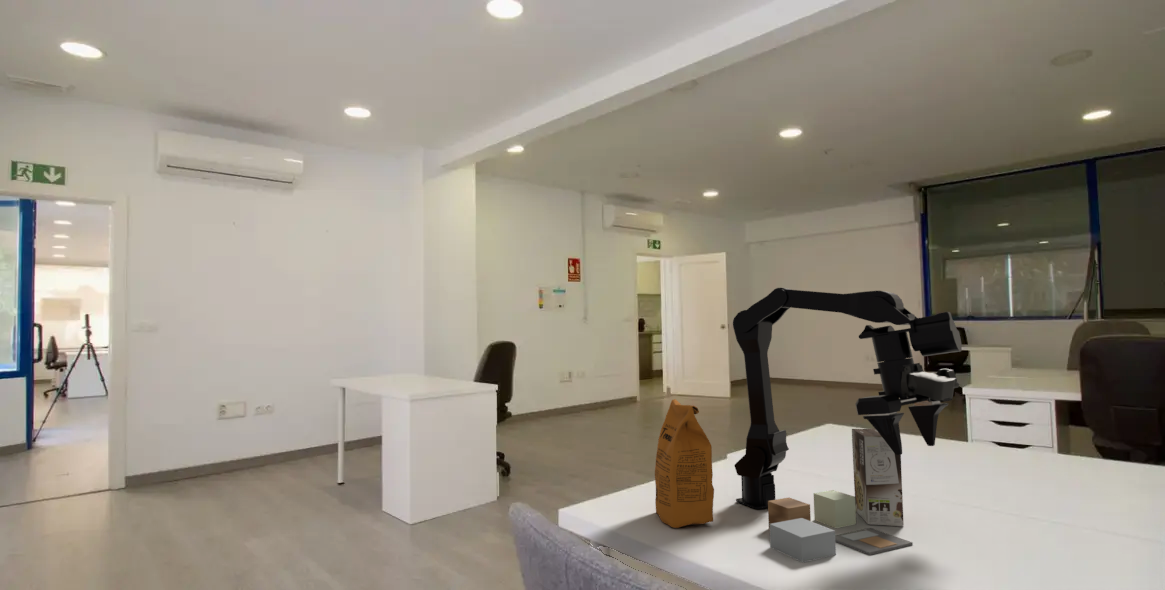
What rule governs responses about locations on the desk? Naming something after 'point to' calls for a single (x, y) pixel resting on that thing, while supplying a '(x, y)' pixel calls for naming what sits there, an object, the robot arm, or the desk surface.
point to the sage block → (834, 508)
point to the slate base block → (802, 539)
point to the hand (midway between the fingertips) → (915, 450)
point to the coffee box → (876, 479)
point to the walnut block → (787, 510)
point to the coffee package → (683, 469)
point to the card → (871, 541)
